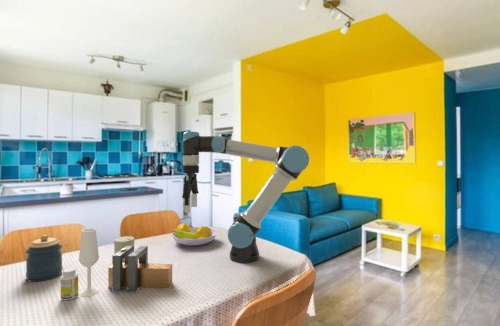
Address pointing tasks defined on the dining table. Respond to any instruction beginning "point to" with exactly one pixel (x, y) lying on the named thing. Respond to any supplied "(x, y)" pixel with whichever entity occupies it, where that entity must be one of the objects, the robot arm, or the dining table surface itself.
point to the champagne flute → (88, 257)
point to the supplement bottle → (69, 284)
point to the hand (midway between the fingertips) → (190, 209)
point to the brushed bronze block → (147, 276)
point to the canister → (44, 259)
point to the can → (123, 243)
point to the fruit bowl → (193, 235)
